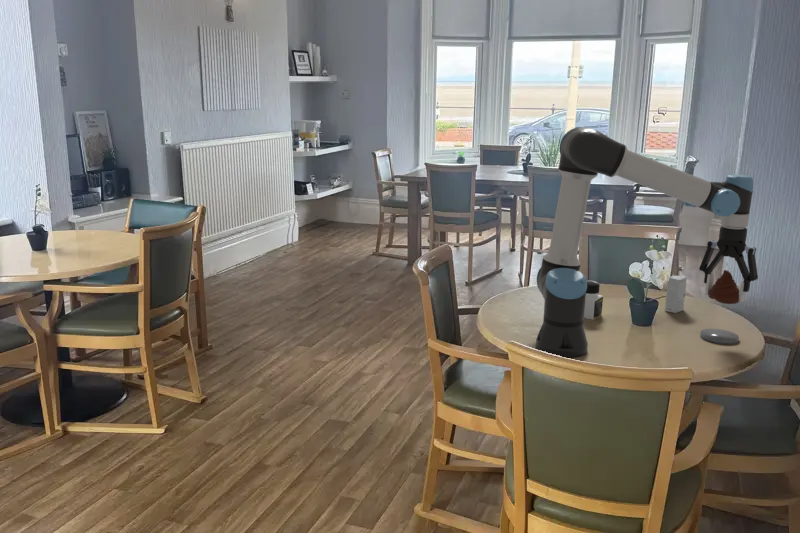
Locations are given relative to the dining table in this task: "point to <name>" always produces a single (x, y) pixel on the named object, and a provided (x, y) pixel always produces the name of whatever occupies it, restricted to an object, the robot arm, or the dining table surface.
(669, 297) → the skincare box
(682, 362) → the dining table surface
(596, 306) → the medicine bottle
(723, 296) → the poop emoji
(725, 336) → the coaster
